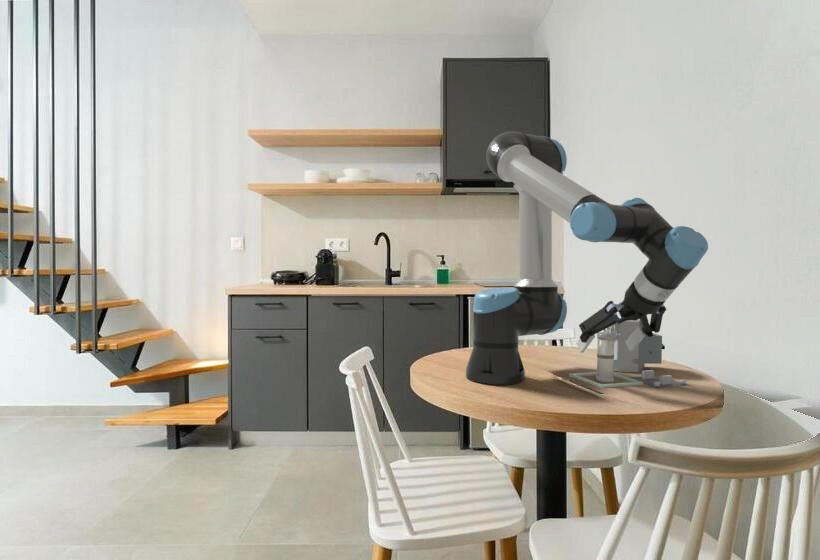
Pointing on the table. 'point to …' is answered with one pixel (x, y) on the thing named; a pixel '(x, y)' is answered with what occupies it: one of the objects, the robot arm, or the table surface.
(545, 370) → the table surface
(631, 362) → the circuit breaker
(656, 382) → the block
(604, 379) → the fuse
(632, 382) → the tray
